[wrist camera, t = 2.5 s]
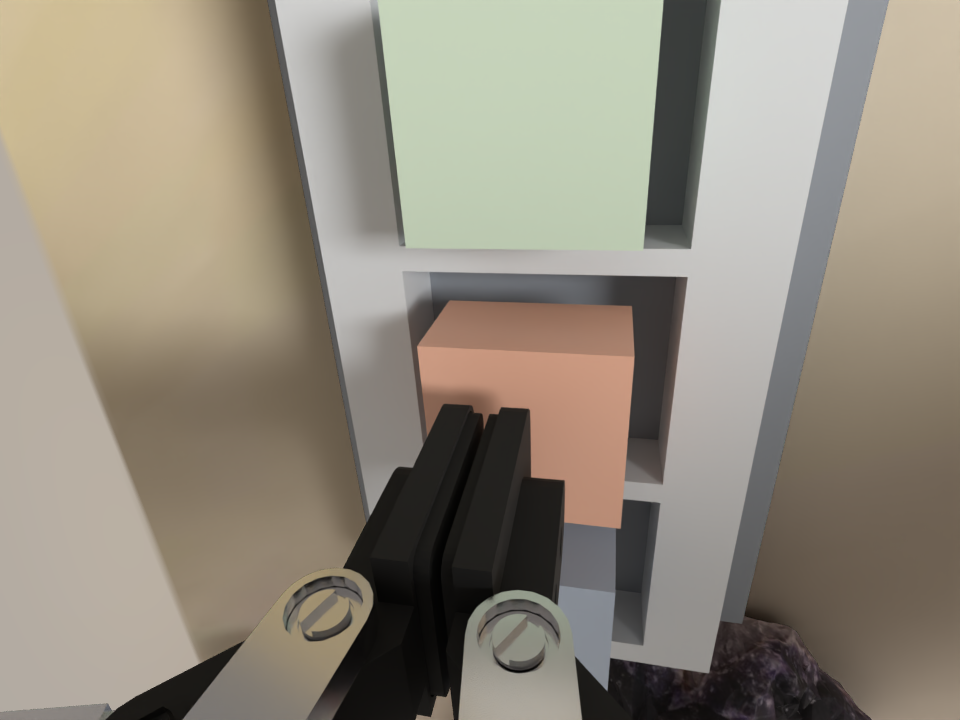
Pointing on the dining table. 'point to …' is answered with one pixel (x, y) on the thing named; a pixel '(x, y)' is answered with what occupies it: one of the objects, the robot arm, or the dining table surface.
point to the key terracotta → (544, 388)
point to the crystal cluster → (736, 681)
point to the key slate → (589, 593)
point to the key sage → (522, 120)
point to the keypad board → (617, 277)
